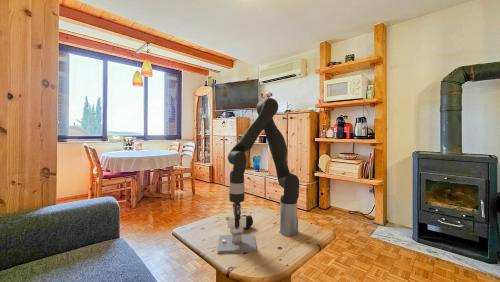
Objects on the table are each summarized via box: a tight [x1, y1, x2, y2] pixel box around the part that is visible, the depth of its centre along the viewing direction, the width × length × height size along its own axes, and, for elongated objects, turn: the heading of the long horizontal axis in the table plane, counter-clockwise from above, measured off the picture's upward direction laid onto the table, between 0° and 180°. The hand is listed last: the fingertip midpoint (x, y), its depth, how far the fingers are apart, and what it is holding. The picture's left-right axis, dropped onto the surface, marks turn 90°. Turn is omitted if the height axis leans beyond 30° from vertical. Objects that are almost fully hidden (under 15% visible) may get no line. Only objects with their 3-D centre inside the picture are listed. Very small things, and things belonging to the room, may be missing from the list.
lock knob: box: [225, 215, 247, 235], centre depth 111 cm, size 10×7×7 cm
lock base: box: [217, 233, 258, 255], centre depth 111 cm, size 18×16×6 cm
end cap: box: [241, 214, 254, 229], centre depth 131 cm, size 10×7×7 cm
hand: (236, 225), depth 111 cm, fingers closed on lock knob, 2 cm apart
